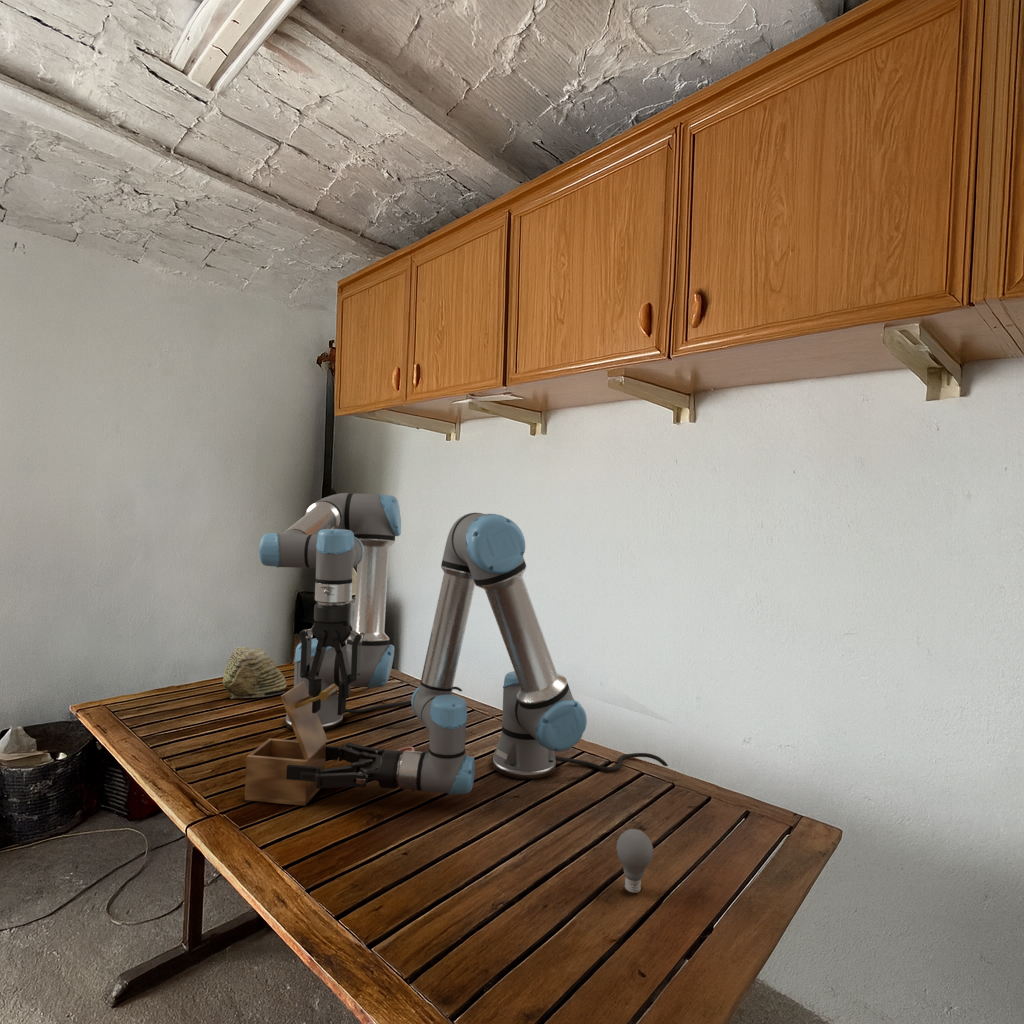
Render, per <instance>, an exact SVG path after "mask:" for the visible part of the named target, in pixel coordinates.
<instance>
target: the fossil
mask: <svg viewBox="0 0 1024 1024" xmlns="http://www.w3.org/2000/svg"><path fill="white" fill-rule="evenodd" d="M222 676H223V677H222V685H223V687H224V688H225V690H226V691H228V693H229V698H230V699H250V698H264V697H271V696H275V695H281V694H284V693H285V692H286V689H287V687H288V686H287V680H286V678H285V676H284V674H283V673H282V672H281V669H279V668H278V667H277V665H276V663H275V662H274V660H273V659H272V658H271V657H270V656H269V655H268V654H267V653H266V652H265V650H264V649H263V648H260V647H258V648H251V647H247V646H246V647H245V646H238V647H237V648H236V649H235V650H233V651H232V653H231V656H230V657H229V659H228V660H227V663H226V666H225V668H224V671H223V675H222Z"/></svg>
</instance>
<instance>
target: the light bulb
mask: <svg viewBox="0 0 1024 1024" xmlns="http://www.w3.org/2000/svg"><path fill="white" fill-rule="evenodd" d="M615 849H616V854H617V857H618V859H619V861H620V863H621V865H622V867H623V873H624V874H623V875H624V876H625V878H624V888H625V890H627V891H628V892H630V893H634V894H635V893H639V892H640V891H641V889H642V887H641V886H642V879H643V877H644V875H645V871H646V868H647V867H648V866H649V864H650V863H651V861H652V859H653V855H654V847H653V843H652V841H651V838H649V836H648V835H647V834H646V833H645V832H643V831H642V830H641V829H636V828H629V829H627V830H625V831H623V832H622V833H621V834H620V835H619V837H618V839H617V841H616V847H615Z"/></svg>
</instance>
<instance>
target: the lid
mask: <svg viewBox="0 0 1024 1024" xmlns="http://www.w3.org/2000/svg"><path fill="white" fill-rule="evenodd" d="M336 691H337V692H338V691H339V686H337V685H336V684H331V685H330V686H329V687H327V688H326V689H325V690H323V691H321V693H320V694H319V696H317V697H314V698H313V696H309V691H308V689H307V686H306V683H305V681H303V682H301V683H300V684H298V685H297V686H295V687H294V686H293V687H292V688H290V689H289V690H288V691H285V692H284V693H282V695H280V699H281V702H282V704H283V706H284V709H285V711H286V715H287V714H288V717H289V719H290V722H291V725H292V727H293V730H292V731H293V733H294V734H295V737H296V741H298V742H299V745H300V748H301V750H302V753H303V755H304V758H305V760H307V759H309V758H310V757H311V756H312V755H313V754H314V753H315V752H316V751H317V750H318V749H319V748H320V747H321V746H322V745H323V744H324V743H327V742H328V737H327V735H326V732H325V731H324V729H323V727H322V724H321V722H320V719H319V717H318V714H317V712H316V713H312V702H314V701H317V700H319V699H320V700H322V701H325V700H327V699H328V698H329V697H330V696H331V695H333V694H334V693H335V692H336Z"/></svg>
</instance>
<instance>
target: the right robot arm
mask: <svg viewBox="0 0 1024 1024" xmlns="http://www.w3.org/2000/svg"><path fill="white" fill-rule="evenodd" d="M525 539H526V538H525V536H524V533H523V532H522V530H521V528H520V527H519V525H518V524H517V523H516V522H514V521H513V520H511V519H510V518H508V517H506V516H504V515H501V514H497V513H482V512H470V513H465V514H464V515H462V516H460V517H458V519H456V521H455V522H454V523H453V524H452V526H451V528H450V530H449V532H448V534H447V538H446V542H445V546H444V551H443V554H442V555H443V556H442V558H441V559H442V560H441V563H440V564H441V565H440V569H441V570H442V572H443V575H442V581H441V585H440V590H439V594H438V595H439V596H438V599H437V603H436V608H435V612H434V613H435V614H434V618H433V623H432V627H431V632H430V637H429V641H428V647H427V650H426V655H425V659H424V665H423V669H422V674H421V678H420V682H419V685H418V687H417V688H416V689H415V690H414V691H413V693H412V695H411V699H410V700H411V703H410V704H411V708H412V711H413V712H414V715H415V716H416V718H418V719H419V720H420V721H421V723H422V724H423V726H424V727H425V729H426V730H427V732H428V733H429V742H428V743H429V744H428V746H429V747H428V752H427V751H417V750H415V751H405V752H404V753H403V752H402V751H401V750H398V749H388V748H387V749H384V748H374V747H370V746H366V745H361V744H356V743H352V742H346V743H344V745H340V746H333V745H326V754H325V760H329V761H338V762H343V761H345V762H347V763H349V765H343V766H336V767H329V768H325V769H320V767H319V766H318V767H312V766H299V765H287V774H286V779H290V780H302V781H313V782H316V788H320V789H332V788H333V789H334V788H352V787H353V788H361V789H362V788H366V787H367V783H368V781H377V784H378V786H379V787H380V788H382V789H392V790H396V789H398V788H399V789H400V790H406V791H407V790H408V791H411V792H413V793H414V792H417V791H419V792H429V793H439V794H447V795H468V794H469V793H471V792H472V789H473V787H474V781H475V776H476V775H475V774H476V759H475V757H474V756H472V755H468V754H466V739H467V737H466V736H467V735H466V734H467V721H468V711H467V710H468V709H467V701H466V699H465V698H464V697H462V696H458V695H456V694H453V690H454V689H453V687H454V683H455V679H456V673H457V670H458V665H459V660H460V656H461V651H462V647H463V642H464V638H465V633H466V628H467V623H468V619H469V615H470V611H471V605H472V601H473V597H474V594H475V593H474V592H475V588H476V587H478V588H479V589H482V590H484V592H485V594H486V597H487V600H488V603H489V605H490V608H491V610H492V613H493V617H494V619H495V622H496V624H497V627H498V630H499V632H500V635H501V638H502V641H503V643H504V646H505V649H506V652H507V655H508V657H509V660H510V662H511V666H512V668H513V671H509V672H507V673H506V674H505V676H504V679H503V685H502V714H501V715H502V716H501V718H502V719H501V733H500V737H499V739H498V743H497V745H496V747H495V750H494V752H493V756H492V767H493V769H494V770H495V771H496V772H498V773H499V774H501V775H503V776H505V777H508V778H511V779H517V780H538V779H539V780H540V779H543V778H546V777H548V776H550V775H552V774H554V772H555V771H556V769H557V767H556V766H557V761H558V762H564V763H570V764H575V765H576V764H577V765H581V766H586V767H590V768H592V769H596V770H599V771H603V772H616V771H618V770H620V769H621V768H622V766H623V765H622V764H623V761H624V760H625V759H632V758H647V759H652V760H654V761H657V762H658V763H660V764H661V765H662V766H664V767H668V766H669V765H668V763H667V762H666V761H665V760H664V759H662V758H661V757H660V756H658V755H655V754H653V753H648V752H636V753H635V752H634V753H625V754H622V755H620V756H619V757H618V759H617V765H614V766H604V765H601V764H600V765H599V764H597V763H593V762H590V761H586V760H581V759H575V758H571V757H570V758H569V757H564V756H558V755H557V756H556V754H555V752H558V753H559V752H564V751H567V750H569V749H571V748H573V747H574V746H576V745H577V744H578V742H579V741H580V740H581V739H582V737H583V734H584V732H585V730H586V728H587V723H588V722H587V721H588V718H587V713H586V710H585V709H584V707H583V706H582V704H581V703H580V702H579V701H578V700H575V699H574V696H573V694H572V691H571V688H570V685H569V683H568V680H567V677H565V676H564V675H563V674H560V673H558V672H557V669H556V666H555V663H554V661H553V657H552V655H551V652H550V649H549V646H548V644H547V641H546V638H545V635H544V633H543V629H542V626H541V624H540V622H539V619H538V616H537V613H536V610H535V607H534V605H533V602H532V599H531V596H530V593H529V591H528V588H527V585H526V582H525V579H524V573H525V571H526V570H527V563H526V561H525V558H524V554H525V553H526V540H525ZM452 689H453V690H452Z"/></svg>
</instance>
